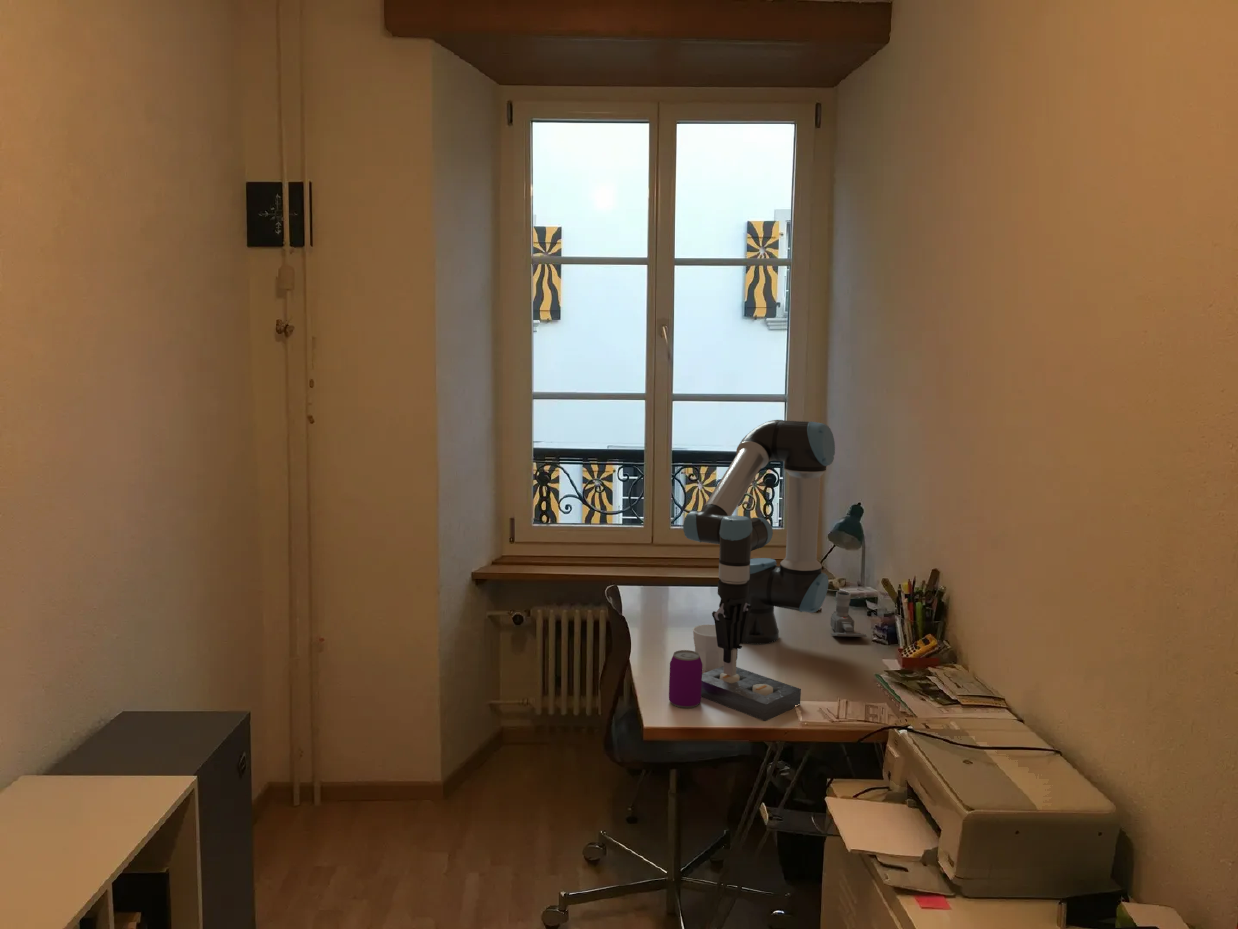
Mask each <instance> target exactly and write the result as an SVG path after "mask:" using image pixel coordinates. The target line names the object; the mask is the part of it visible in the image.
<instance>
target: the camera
mask: <svg viewBox="0 0 1238 929" xmlns="http://www.w3.org/2000/svg"><path fill="white" fill-rule="evenodd" d="M851 594H852V593H850V592H849V591H841V590H840V591H836V593H835V601H836V607H835V608H836V609H835V611H833V612H832V613H831V616H830V626H831V629H832V630H834V632H831V633H830V635H832V636H834V637H835V636H836V637H853V638H854V637H860V638H861V637H862V638H867V634H864V633H860V632H854V631H855V620H854V619H853V618H852V617H851V615H850V614H849V612H850V611H849V610H850V608H849V607H850V603H851Z"/></svg>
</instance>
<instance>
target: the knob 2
mask: <svg viewBox="0 0 1238 929" xmlns="http://www.w3.org/2000/svg"><path fill="white" fill-rule="evenodd" d="M752 691H753V692H756V693H759V694H761V695H764V696H767V695H769V694H771V693H773V687H772V686H770V685H767V684H755V685H753V690H752Z"/></svg>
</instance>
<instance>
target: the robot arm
mask: <svg viewBox="0 0 1238 929" xmlns="http://www.w3.org/2000/svg"><path fill="white" fill-rule="evenodd" d="M835 454H836V445H835V438H834V434H833V431H832V429H831V428H830V426H829V425H827V424H826V423H822V422H817V421H807V420H806V421H805V420H804V421H803V420H783V419H772V420H768V421H765V422H764V423H761V424H760V425H757V427H755V428H753V429H752V430H751V431H749V433H747V434H746V435H745V436H744V437H743V438H742V439H741V441H740V442H739V444H738V445H737V447H736V455H735V457H734V458H733V460H732V461H731V463H730V465H729V466H728V468H727V469H726V471H725V473H724V474H723V476H722V477H721V479H720V481H719V482H718V483H717V485H716V487H714V490H713V491H712V493H711V494H710V496H709V498H708V499H707V500H706V503H705V504H704V506H703V507H702V508H701V510H700V511H698V510H697V511H696V510H695V511H690V512H688V513H686V515H685V517H684V520H683V525H682V530H683V532H684V534H683V535H684V536H685V538H686V539H688V540H690V541H694V542H699V543H704V544H705V543H706V544H714V545H719V553H718V555H719V556H718V557H719V559H718V575H717V576H718V578H719V580H718V581H717V595H718V596H719V599H720V601H719V604H718V607H719V608H718V609H717V611H712V612H711V616H712V618H713V621H714V625H715V629H716V637H717V645H718V647H720V648H723V650H724V653H723V661H724V671H723V673H724V674H727V675H730V676H734V675H736V667H737V661H738V652H739V651H738V650H742V648H743V646H742V645H744V644H748V645H749V644H750V645H765V644H772V643H774V642H777V641H778V640H779V636H780V630H779V627H778V623H777V620H776V616H775V607H777V608H780V609H781V608H782V609H786V610H787V609H788V610H792V611H798V612H800V613H816V612H818V611H819V610H820V609H821V607H822V605H823V603H824V601H825V599H826V597H827V592H828V589H829V577H828V576H829V575H827V574H826V572H823V571H822V568H823V567H822V564H821V562H820V561H818V559H817V557H818V556H817V555H818V539H819V538H818V535H819V513H820V492H821V477H822V476H823V475H824V473H826V472H827V467H828V466H830V465H832V463H833V462H834V459H835ZM772 461H778V462H783V464H784V466H783V470H784V472H786V473H787V474H788V494H787V495H788V499H787V501H788V502H787V519H786V520H787V522H786V544H785V545H786V546H785V547H786V548H785V557H784V559H782V560H781V561H780V563H779V565H778V566H777V564H778V563H777V560H776V559H773V558H769V557H757V558H756V557H755V558H751V555H752V554H751V553H752V551H755V550H759V549H761V548H763V547H765V545H768V544H769V543H770V542H771V540H772V538H773V534H774V533H773V532H774V530H773V527H772V525H771V523H770V522H769V521H768V519H766V518H763V517H759V516H758V517H756V516H755V517H751V518H750V517H748V516H743V515H733V514H734V512H735V511H736V509H737V507H738V506H739V505H740V503H741V501H742V499H743V497H744V496H745V494H746V493H747V491H748V490H749V488H750V487H751V484H752V482H753V481H754V480H755V478H756V476H757V475H758V473H759V472H760V470H761V469H764V468H765V467H766V466H767V465H768V464H769V462H772Z"/></svg>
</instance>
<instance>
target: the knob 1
mask: <svg viewBox="0 0 1238 929" xmlns="http://www.w3.org/2000/svg"><path fill="white" fill-rule="evenodd" d="M739 678H740V676H739V675H738V674H736V675H734V676H730V675H727V674H724V673H721V674H720V680H723V681H725V682H728V683H731V684H732V683H735V682H737V681H739Z"/></svg>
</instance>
